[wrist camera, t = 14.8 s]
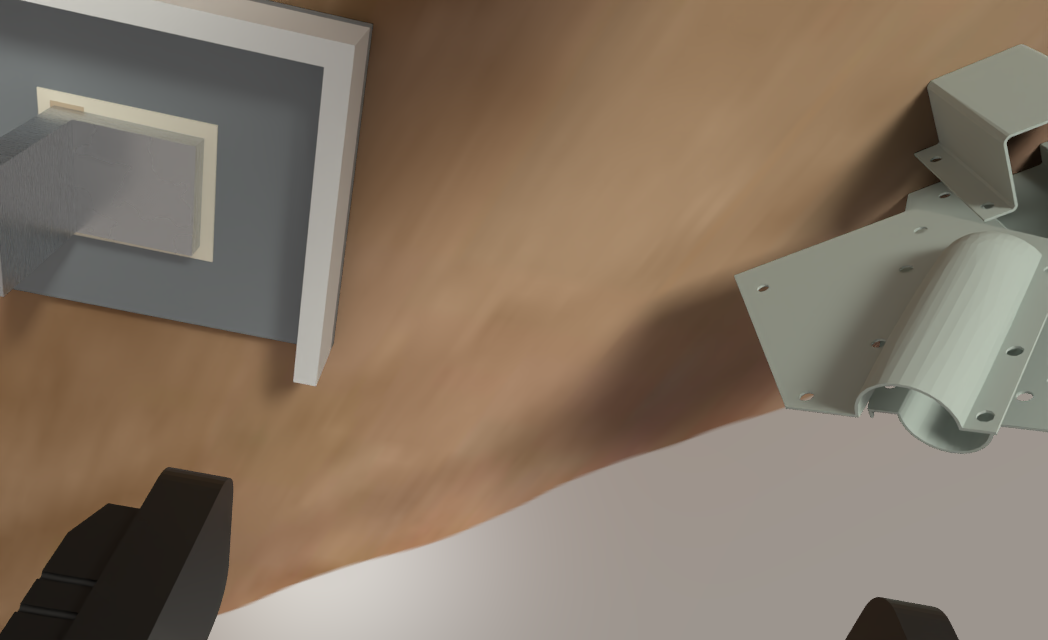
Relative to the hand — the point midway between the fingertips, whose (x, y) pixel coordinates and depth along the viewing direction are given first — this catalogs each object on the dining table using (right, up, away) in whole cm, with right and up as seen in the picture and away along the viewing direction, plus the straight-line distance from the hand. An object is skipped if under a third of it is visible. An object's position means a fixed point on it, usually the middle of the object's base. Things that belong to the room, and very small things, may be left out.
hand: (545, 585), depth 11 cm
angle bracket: (-20, +10, +33) cm, 40 cm away
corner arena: (-19, +12, +33) cm, 40 cm away
